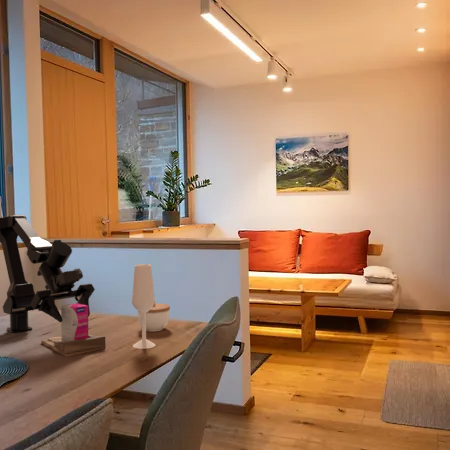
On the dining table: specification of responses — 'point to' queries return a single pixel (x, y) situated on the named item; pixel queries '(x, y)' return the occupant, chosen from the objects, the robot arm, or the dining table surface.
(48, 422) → the dining table surface
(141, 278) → the champagne flute
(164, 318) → the lidded jar
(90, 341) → the click board
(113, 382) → the dining table surface
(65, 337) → the supplement box
